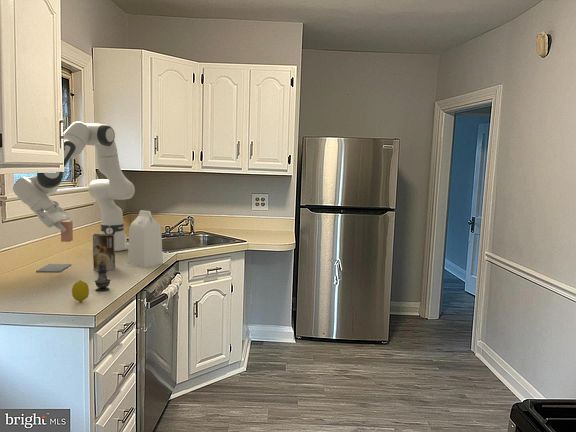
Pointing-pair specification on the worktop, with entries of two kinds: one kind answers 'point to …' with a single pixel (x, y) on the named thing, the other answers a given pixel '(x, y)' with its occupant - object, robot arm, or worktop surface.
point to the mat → (54, 268)
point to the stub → (68, 234)
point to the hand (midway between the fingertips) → (68, 230)
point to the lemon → (80, 291)
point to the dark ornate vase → (102, 278)
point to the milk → (145, 241)
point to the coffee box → (104, 250)
